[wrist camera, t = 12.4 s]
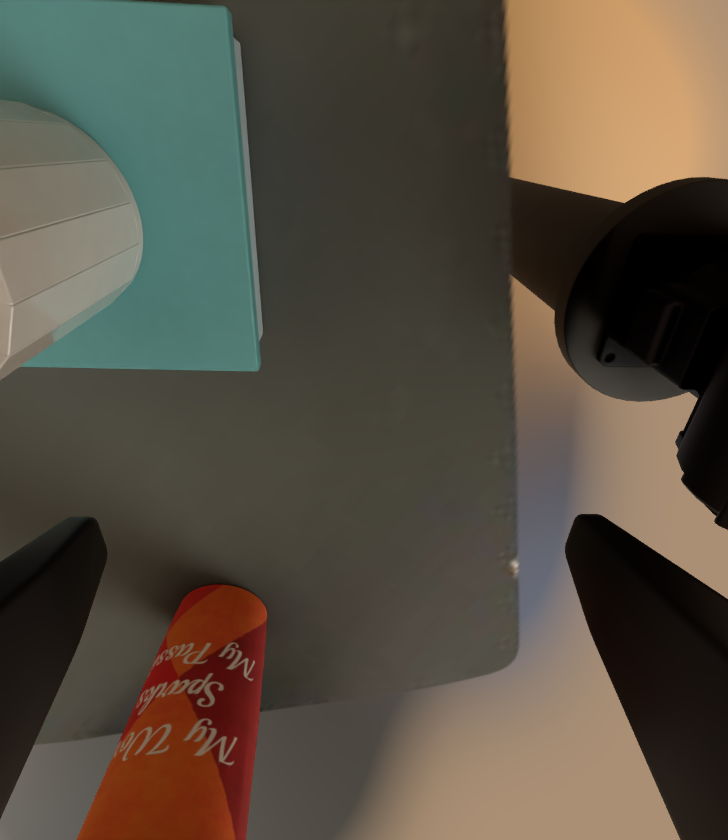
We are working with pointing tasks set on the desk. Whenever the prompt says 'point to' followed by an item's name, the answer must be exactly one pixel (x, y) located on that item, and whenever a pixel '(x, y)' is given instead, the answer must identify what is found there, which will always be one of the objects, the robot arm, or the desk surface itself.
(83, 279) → the beige cup
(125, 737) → the paper cup
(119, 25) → the teal flat box
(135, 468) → the desk surface
